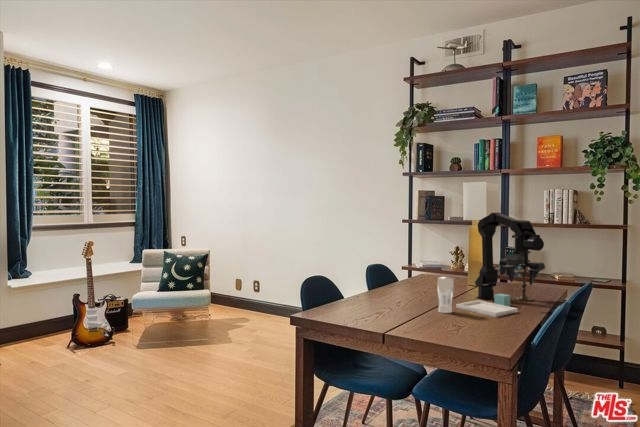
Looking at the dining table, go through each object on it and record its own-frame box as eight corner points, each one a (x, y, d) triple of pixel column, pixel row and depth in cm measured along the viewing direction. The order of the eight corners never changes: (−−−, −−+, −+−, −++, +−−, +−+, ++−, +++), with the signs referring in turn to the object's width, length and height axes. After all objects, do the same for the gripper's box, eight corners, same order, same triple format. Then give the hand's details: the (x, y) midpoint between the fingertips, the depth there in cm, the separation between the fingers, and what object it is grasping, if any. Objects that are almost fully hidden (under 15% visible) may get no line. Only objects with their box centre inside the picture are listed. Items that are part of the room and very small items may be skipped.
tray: (456, 308, 204) (456, 304, 204) (478, 303, 213) (478, 300, 213) (495, 317, 188) (495, 313, 188) (517, 312, 197) (517, 308, 197)
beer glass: (453, 310, 199) (454, 276, 199) (453, 314, 192) (453, 279, 192) (437, 309, 201) (438, 276, 201) (436, 312, 195) (436, 278, 194)
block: (494, 305, 211) (494, 294, 211) (500, 303, 214) (500, 293, 214) (503, 307, 207) (504, 296, 207) (510, 305, 210) (510, 295, 210)
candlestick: (512, 300, 221) (513, 229, 220) (511, 296, 231) (512, 228, 230) (536, 302, 217) (537, 230, 216) (535, 298, 227) (536, 229, 226)
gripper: (492, 247, 204) (491, 281, 204) (531, 251, 189) (530, 288, 189) (506, 246, 210) (506, 279, 211) (545, 250, 195) (545, 285, 195)
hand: (521, 283), depth 201 cm, fingers open, 9 cm apart
